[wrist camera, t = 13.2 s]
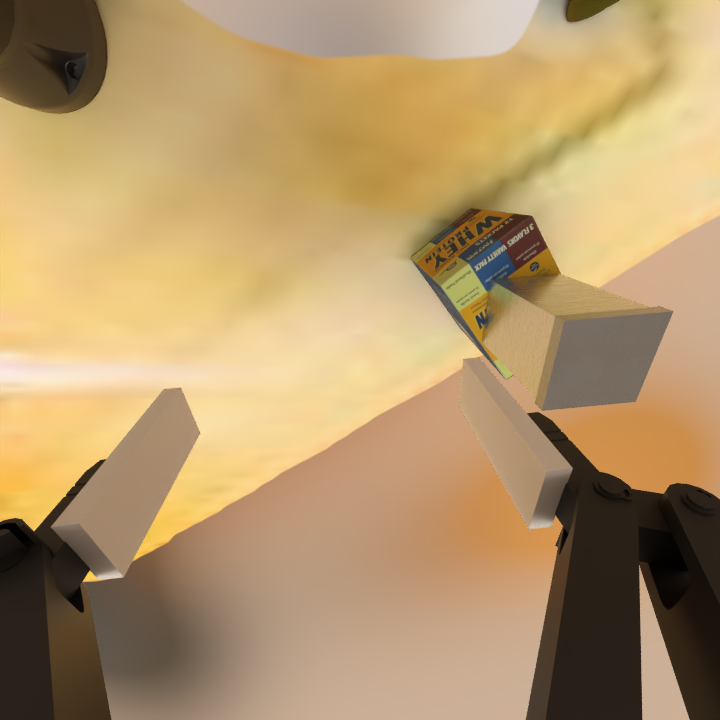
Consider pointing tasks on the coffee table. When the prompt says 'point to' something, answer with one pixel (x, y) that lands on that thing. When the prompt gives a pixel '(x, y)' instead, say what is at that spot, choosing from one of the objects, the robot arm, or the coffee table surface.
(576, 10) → the frog statue
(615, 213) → the coffee table surface
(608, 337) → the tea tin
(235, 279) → the coffee table surface
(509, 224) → the protein box
